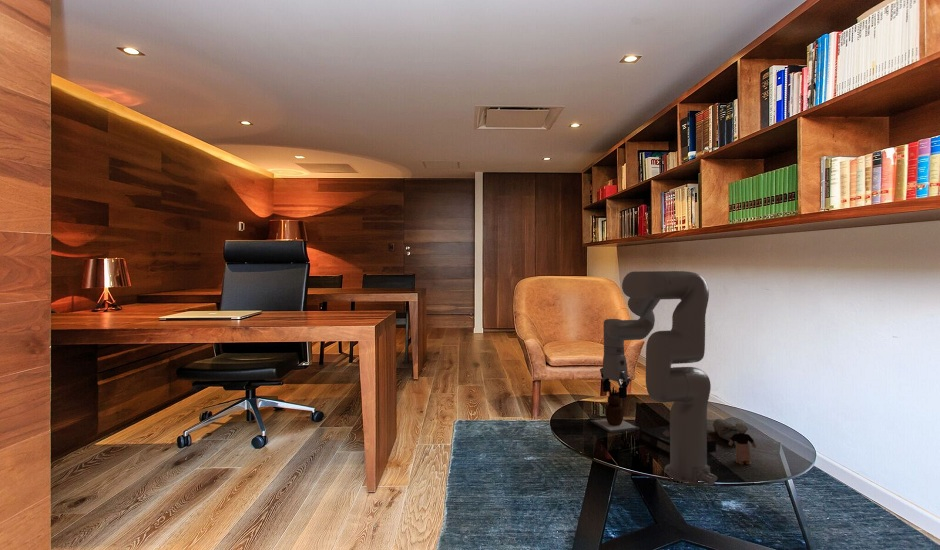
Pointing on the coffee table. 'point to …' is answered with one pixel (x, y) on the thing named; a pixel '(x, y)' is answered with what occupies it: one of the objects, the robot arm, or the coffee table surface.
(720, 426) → the decorative bird
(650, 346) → the robot arm
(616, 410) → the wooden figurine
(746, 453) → the toy figure
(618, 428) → the card
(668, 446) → the portable cd player
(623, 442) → the coffee table surface
